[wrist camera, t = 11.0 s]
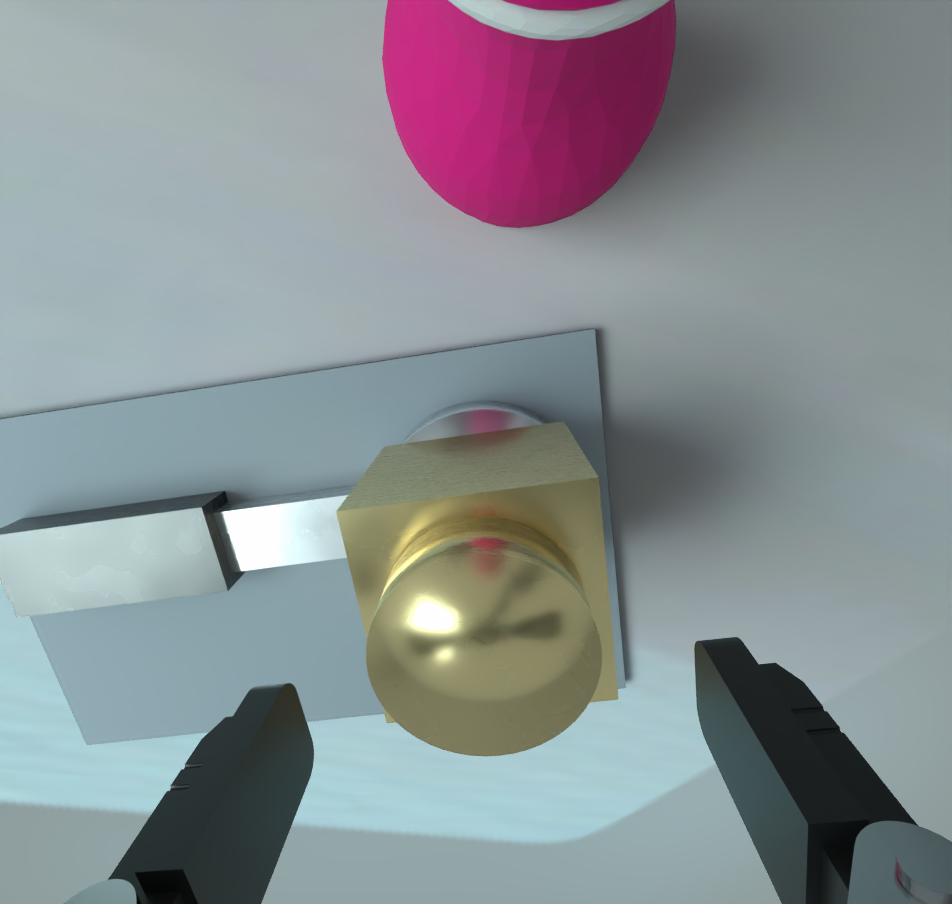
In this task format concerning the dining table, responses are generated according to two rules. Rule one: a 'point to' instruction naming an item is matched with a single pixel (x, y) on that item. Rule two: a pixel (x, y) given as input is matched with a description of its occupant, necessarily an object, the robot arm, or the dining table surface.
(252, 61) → the dining table surface
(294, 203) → the dining table surface
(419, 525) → the brass knob block
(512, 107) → the pepper mill
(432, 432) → the metal ladle
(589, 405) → the mat
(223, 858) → the robot arm
